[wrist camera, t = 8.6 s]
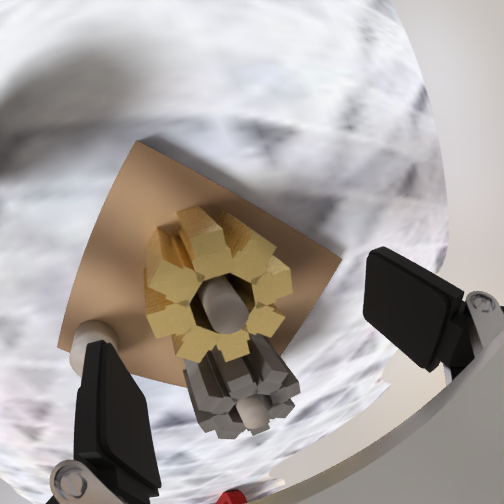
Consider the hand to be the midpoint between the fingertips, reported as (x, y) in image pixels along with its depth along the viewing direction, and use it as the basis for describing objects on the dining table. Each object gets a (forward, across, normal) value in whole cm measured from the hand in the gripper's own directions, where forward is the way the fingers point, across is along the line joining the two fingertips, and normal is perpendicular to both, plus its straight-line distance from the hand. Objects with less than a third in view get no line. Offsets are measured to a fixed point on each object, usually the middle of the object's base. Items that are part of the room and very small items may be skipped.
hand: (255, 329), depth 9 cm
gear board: (+9, +1, +4) cm, 10 cm away
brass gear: (+8, 0, +1) cm, 8 cm away
